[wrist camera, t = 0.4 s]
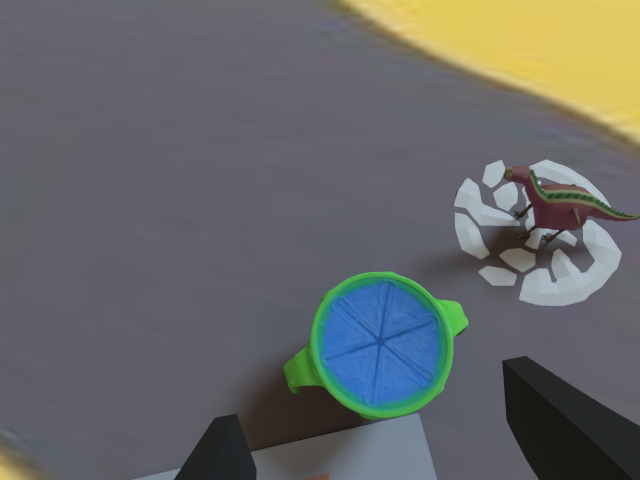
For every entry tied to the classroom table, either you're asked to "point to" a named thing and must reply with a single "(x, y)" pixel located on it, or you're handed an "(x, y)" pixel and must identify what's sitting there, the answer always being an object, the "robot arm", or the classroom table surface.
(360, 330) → the snack cup
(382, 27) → the classroom table surface
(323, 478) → the t block
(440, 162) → the classroom table surface
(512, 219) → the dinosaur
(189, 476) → the robot arm
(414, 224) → the classroom table surface
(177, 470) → the t board
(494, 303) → the classroom table surface
